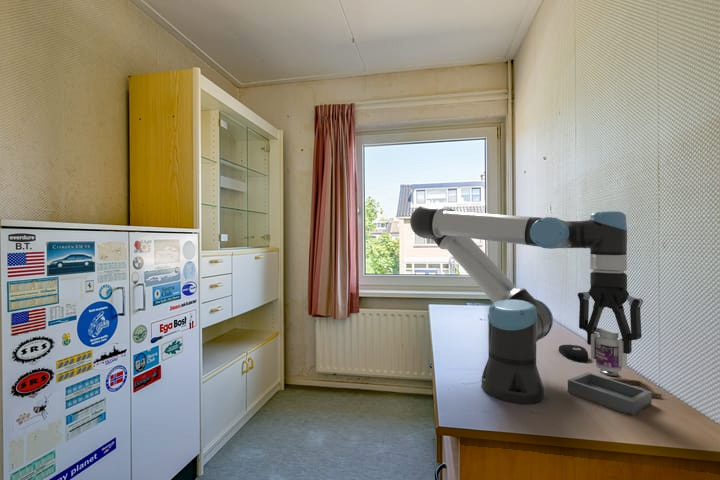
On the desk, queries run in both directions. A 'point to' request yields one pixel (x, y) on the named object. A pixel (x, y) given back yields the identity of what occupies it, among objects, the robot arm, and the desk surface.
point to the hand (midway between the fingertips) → (608, 361)
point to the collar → (637, 382)
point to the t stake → (608, 371)
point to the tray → (610, 393)
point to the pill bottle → (608, 351)
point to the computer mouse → (574, 352)
